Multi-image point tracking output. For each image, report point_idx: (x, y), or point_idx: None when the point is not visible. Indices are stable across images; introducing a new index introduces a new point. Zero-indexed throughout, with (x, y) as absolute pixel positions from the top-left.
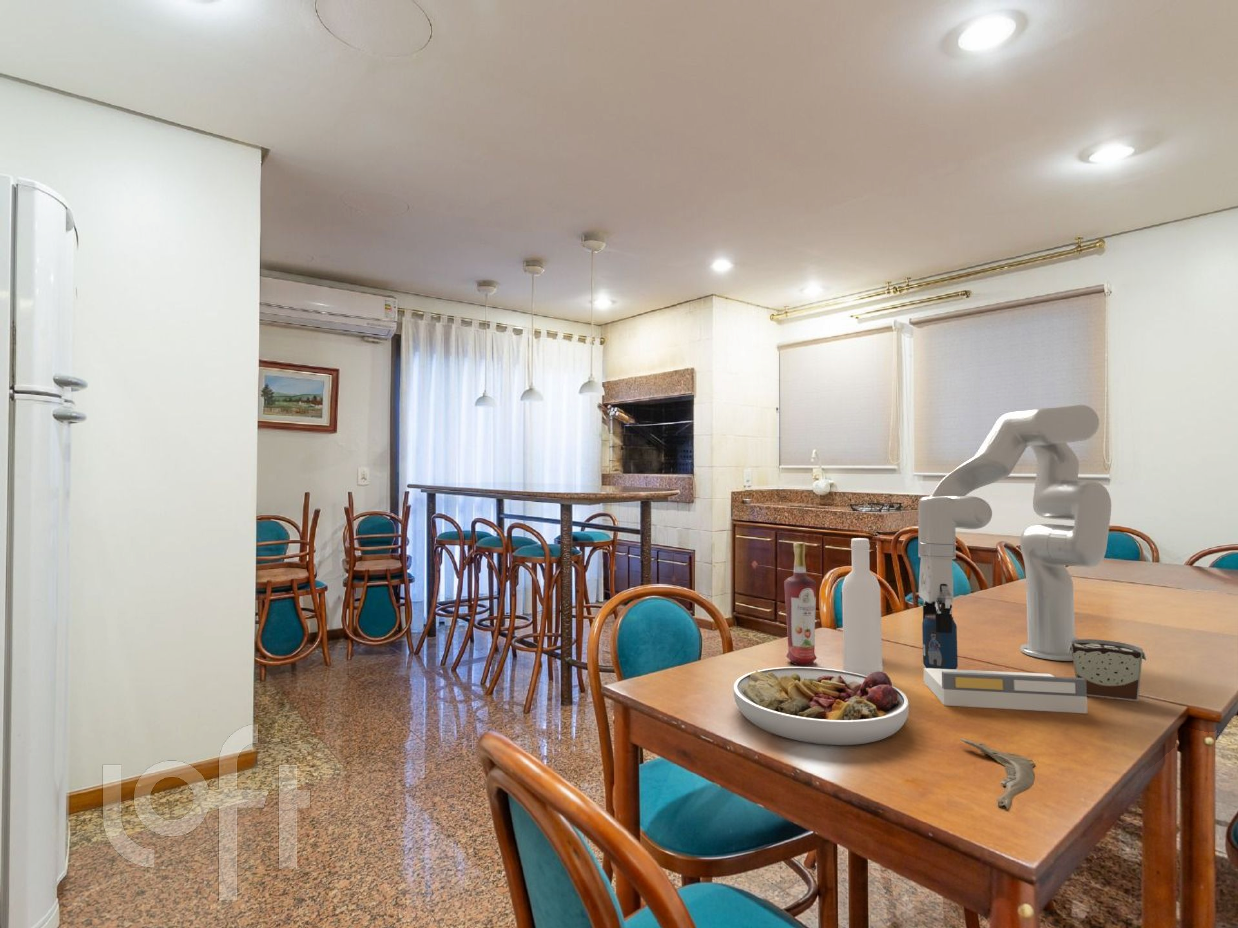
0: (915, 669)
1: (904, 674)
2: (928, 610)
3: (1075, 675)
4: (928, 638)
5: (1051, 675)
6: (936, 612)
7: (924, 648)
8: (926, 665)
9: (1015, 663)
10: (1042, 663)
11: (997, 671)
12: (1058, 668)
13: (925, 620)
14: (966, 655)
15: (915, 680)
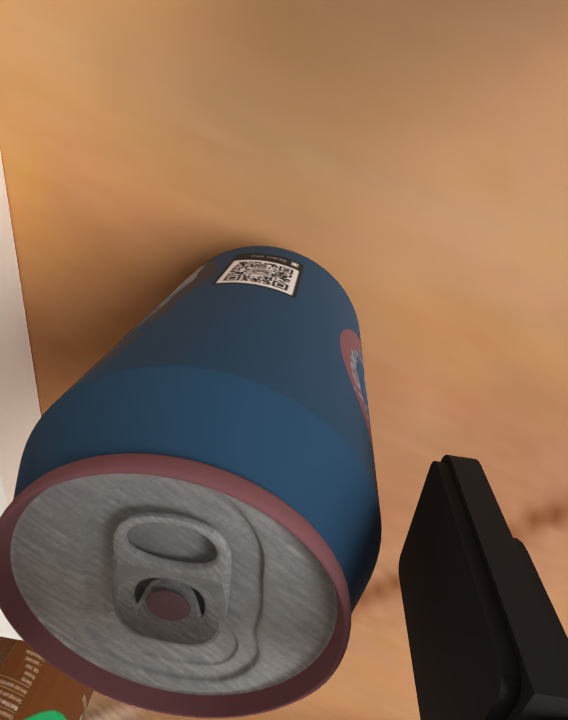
0: (273, 183)
1: (145, 52)
2: (458, 647)
3: (1, 685)
4: (145, 321)
5: (13, 635)
6: (424, 689)
7: (229, 274)
8: (235, 249)
9: (387, 651)
10: (383, 713)
11: (5, 499)
12: (320, 717)
13: (149, 417)
14: (540, 560)
15: (25, 83)
